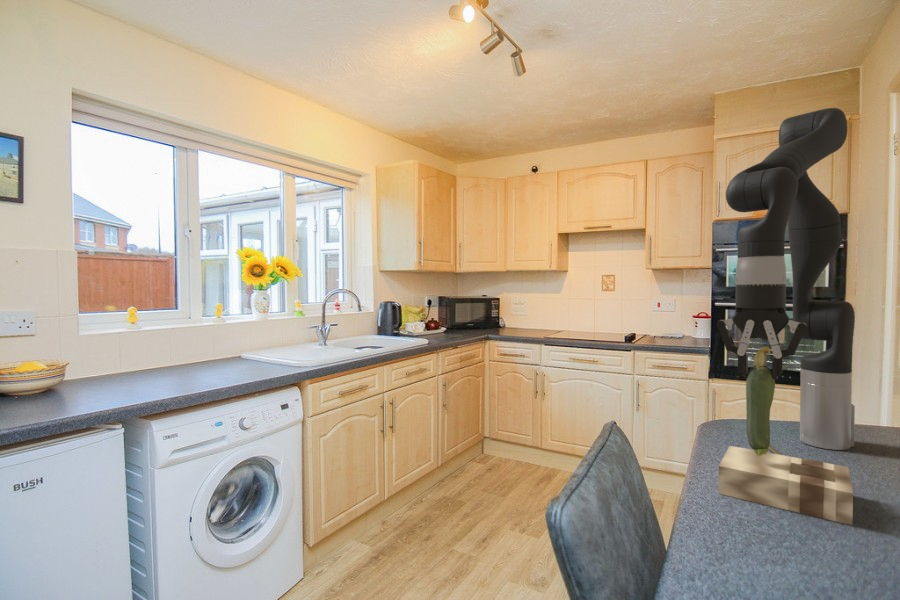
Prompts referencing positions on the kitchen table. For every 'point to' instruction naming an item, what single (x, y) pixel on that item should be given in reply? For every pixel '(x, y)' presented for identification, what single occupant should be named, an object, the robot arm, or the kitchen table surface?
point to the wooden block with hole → (788, 483)
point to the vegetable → (759, 402)
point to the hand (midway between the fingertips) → (759, 376)
